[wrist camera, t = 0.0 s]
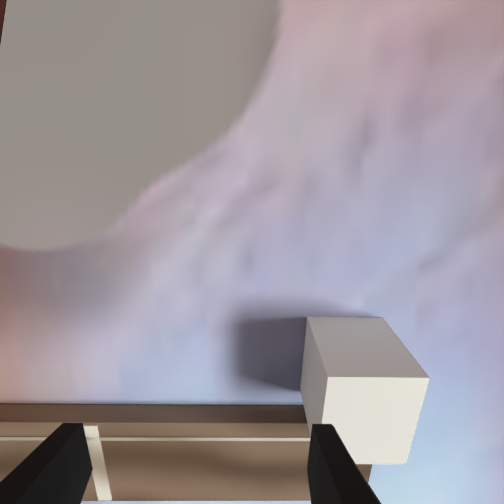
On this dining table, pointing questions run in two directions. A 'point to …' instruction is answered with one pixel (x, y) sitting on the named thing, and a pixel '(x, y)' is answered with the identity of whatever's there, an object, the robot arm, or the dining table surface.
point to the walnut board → (175, 449)
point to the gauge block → (362, 386)
